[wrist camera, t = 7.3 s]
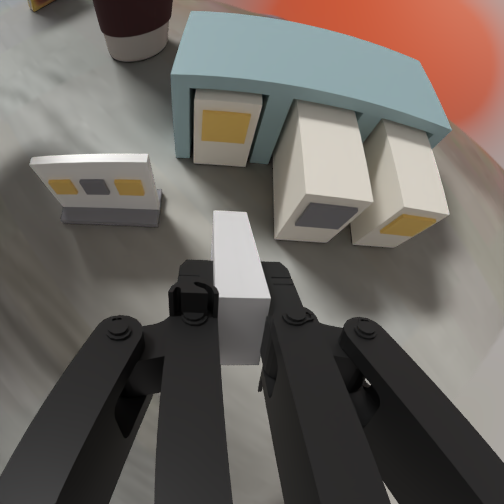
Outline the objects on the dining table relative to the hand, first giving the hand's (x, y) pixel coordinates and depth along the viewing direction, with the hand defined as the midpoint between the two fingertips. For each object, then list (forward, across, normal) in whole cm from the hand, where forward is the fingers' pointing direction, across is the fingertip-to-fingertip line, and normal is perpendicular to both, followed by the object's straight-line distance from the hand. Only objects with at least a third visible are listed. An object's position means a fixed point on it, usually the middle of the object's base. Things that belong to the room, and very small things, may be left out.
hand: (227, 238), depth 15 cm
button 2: (+12, +13, 0) cm, 18 cm away
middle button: (+12, +7, 0) cm, 14 cm away
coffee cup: (+26, -11, +13) cm, 31 cm away
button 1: (+17, 0, +4) cm, 17 cm away
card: (+10, -9, -2) cm, 14 cm away
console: (+17, +7, +4) cm, 18 cm away
